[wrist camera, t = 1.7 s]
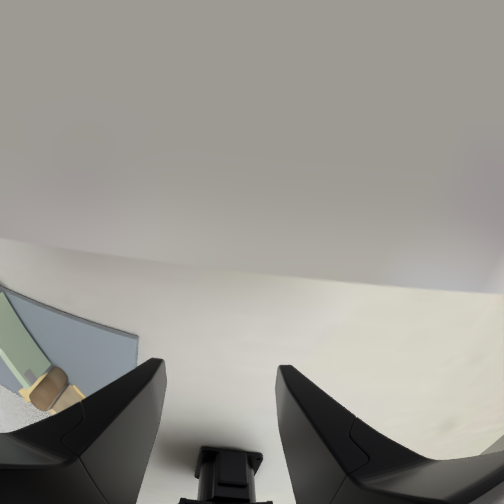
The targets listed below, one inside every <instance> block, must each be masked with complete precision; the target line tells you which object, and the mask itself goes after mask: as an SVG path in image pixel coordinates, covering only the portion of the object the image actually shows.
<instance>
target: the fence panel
mask: <svg viewBox="0 0 504 504" xmlns="http://www.w3.org/2000/svg"><path fill="white" fill-rule="evenodd" d="M0 356H1V358H2V359H3V360H4V362H5V363H6V365H7V366H8V367H9V369H10V370H11V371H12V373H13V374H14V375H15V377H16V378H17V379H18V381H19V382H20V383H21V384H22V386H23V387H24V388H25V389H26V390H27V389H29V388H30V387H31V386H32V385H33V384H34V383H35V382H36V381H37V380H38V378H39V377H40V376H41V375H42V374H43V373H44V372H45V371H46V370H47V368H48V367H49V366H50V365H51V363H50V362H49V361H48V360H47V358H46V357H45V356H44V354H43V353H42V352H41V350H40V349H39V348H38V346H37V345H36V343H35V342H34V341H33V339H32V338H31V336H30V335H29V333H28V332H27V331H26V329H25V328H24V326H23V325H22V323H21V321H20V320H19V318H18V317H17V315H16V314H15V312H14V310H13V309H12V307H11V305H10V304H9V302H8V300H7V299H6V297H5V295H4V293H3V292H1V293H0Z"/></svg>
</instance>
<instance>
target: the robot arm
mask: <svg viewBox="0 0 504 504" xmlns="http://www.w3.org/2000/svg"><path fill="white" fill-rule="evenodd" d="M166 386H167V377H166V368H165V361H164V360H163V359H159V358H151V359H149V360H147V361H146V362H144V363H142V364H141V365H139V366H138V367H136V368H134V369H133V370H131V371H129V372H128V373H126V374H124V375H123V376H121V377H119V378H118V379H116V380H114V381H113V382H111V383H109V384H108V385H106V386H104V387H103V388H101V389H99V390H98V391H96V392H94V393H93V394H91V395H89V396H87V397H86V398H84V399H82V400H81V402H80V401H79V402H77V403H75V404H73V405H72V406H70V407H68V408H66V409H64V410H62V411H60V412H59V413H56V414H54V415H52V416H50V417H48V418H45V419H43V420H41V421H38V422H36V423H33V424H31V425H29V426H26V427H24V428H21V429H18V430H16V431H13V432H8V433H0V504H136V501H137V498H138V494H139V491H140V487H141V484H142V480H143V477H144V474H145V470H146V467H147V464H148V460H149V457H150V454H151V450H152V447H153V444H154V441H155V437H156V434H157V431H158V428H159V424H160V420H161V414H162V408H163V403H164V397H165V391H166ZM275 392H276V404H277V416H278V427H279V433H280V437H281V442H282V446H283V450H284V454H285V459H286V463H287V467H288V471H289V475H290V480H291V484H292V488H293V492H294V496H295V500H296V504H504V450H503V451H500V452H495V453H491V454H485V455H479V456H473V457H467V458H459V459H451V460H434V459H429V458H426V457H424V456H422V455H419V454H418V453H416V452H414V451H412V450H410V449H408V448H406V447H404V446H402V445H400V444H399V443H397V442H395V441H393V440H391V439H389V438H388V437H386V436H384V435H383V434H381V433H379V432H378V431H376V430H375V429H373V428H372V427H370V426H369V425H367V424H366V423H365V422H363V421H362V420H361V419H359V418H358V417H356V416H355V415H354V414H352V413H351V412H350V411H349V410H347V409H346V408H345V407H343V406H342V405H341V404H339V403H338V402H337V401H336V400H334V399H333V398H332V397H330V396H329V395H328V394H327V393H325V392H324V391H323V390H322V389H320V388H319V387H318V386H317V385H315V384H314V383H313V382H312V381H310V380H309V379H308V378H307V377H305V376H304V375H303V374H302V373H301V372H299V371H298V370H297V369H296V368H294V367H293V366H292V365H279V366H278V370H277V378H276V386H275ZM262 460H263V455H262V454H257V453H247V452H238V451H230V450H223V449H216V448H210V447H201V448H200V453H199V457H198V461H197V466H196V470H195V478H197V479H199V488H198V498H197V500H191V499H186V498H180V502H179V503H178V504H273V502H272V501H267V502H256V496H255V482H254V476H255V474H256V472H257V470H258V468H259V466H260V464H261V462H262Z"/></svg>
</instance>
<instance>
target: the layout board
mask: <svg viewBox="0 0 504 504" xmlns="http://www.w3.org/2000/svg"><path fill="white" fill-rule="evenodd" d="M1 292H3V293H4V295H5V297H6V299H7V300H8V302H9V304H10V305H11V307H12V309H13V310H14V312H15V314H16V315H17V317H18V318H19V320H20V321H21V323H22V325H23V326H24V328H25V329H26V331H27V332H28V333H29V335H30V336H31V338H32V339H33V341H34V342H35V343H36V345H37V346H38V348H39V349H40V350H41V352H42V353H43V354H44V356H45V357H46V358H47V360H48V361H49V362H50V363H51V365H50V366H49V367H48V368H47V370H46V371H45V372H44V373H43V374H42V375H41V376H40V377H39V378H38V380H37V381H36V382H35V383H34V384H33V385H32V386H31V387H30V388H29V389H27V390H26V389H25V388H24V387H23V386H22V384H21V383H20V382H19V381H18V379H17V378H16V377H15V375H14V374H13V373H12V371H11V370H10V369H9V367H8V366H7V365H6V363H5V362H4V360H3V359H2V358H1V356H0V384H1V385H2V386H4V387H5V388H7V389H9V390H10V391H12V392H14V393H15V394H17V395H19V396H20V397H22V398H24V399H25V400H26V401H27V403H29V402H31V400H30V398H29V394H30V393H31V392H32V391H33V390H34V388H35V387H36V386H37V385H38V384H39V383H40V382H41V380H42V379H43V378H44V377H45V376H46V375H47V374H48V372H49V371H50V370H51V369H52V368H53V367H59V368H61V369H62V370H63V371H64V372H65V373H66V374H67V376H68V382H67V384H66V385H65V386H67V385H69V384H71V385H72V386H73V388H74V389H75V390H76V391H77V392H78V393H79V394H80V395H81V396H82V397H83V399H84V398H86V397H87V396H89V395H91V394H93V393H94V392H96V391H98V390H99V389H101V388H103V387H104V386H106V385H108V384H109V383H111V382H113V381H114V380H116V379H118V378H119V377H121V376H123V375H124V374H126V373H128V372H129V371H131V370H133V369H134V368H136V367H137V354H138V338H139V336H135V335H132V334H128V333H125V332H121V331H118V330H115V329H112V328H108V327H105V326H102V325H99V324H96V323H93V322H90V321H87V320H84V319H81V318H78V317H75V316H73V315H70V314H67V313H64V312H62V311H59V310H56V309H54V308H51V307H49V306H46V305H44V304H41V303H39V302H36V301H34V300H31V299H29V298H26V297H24V296H22V295H20V294H17V293H15V292H13V291H10V290H8V289H6V288H4V287H2V286H0V293H1ZM65 386H64V387H65ZM64 387H63V389H64ZM63 389H62V390H63ZM62 390H61V391H62ZM61 391H60V393H61ZM60 393H59V394H60ZM59 394H58V395H59ZM58 395H57V397H58ZM57 397H56V398H57ZM56 398H55V399H56ZM55 399H54V401H55ZM54 401H53V402H54ZM53 402H52V404H53ZM31 403H32V402H31ZM52 404H51V405H52ZM51 405H50V406H51ZM50 406H49V408H50ZM49 408H48V409H49ZM48 409H47V410H48Z"/></svg>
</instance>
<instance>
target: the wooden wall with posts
mask: <svg viewBox="0 0 504 504" xmlns="http://www.w3.org/2000/svg"><path fill="white" fill-rule="evenodd" d="M67 382H68V376H67V374H66V373H65V372H64V371H63V370H62V369H61V368H59V367H53V368H52V369H51V370H50V371H49V372H48V374H47V375H46V376H45V377H44V378H43V379H42V380H41V382H40V383H39V384H38V385H37V386H36V387H35V388H34V390H33V391H32V392H31V393H30V394H29V398H30V400H31V402H32V404H33V405H34V406H35V407H36V408H38V409H39V410H41V411H46V410H47V409H48V408H49V406H50V405H51V404H52V402H53V401H54V399H55V398H56V397H57V395H58V394H59V393H60V391H61V390H62V389H63V387H64V386H65V385H66V384H67ZM82 399H83V397H82V396H81V395H80V394H79V393H78V392H77V391H76V390H75V389H74V388H73V386H72V385H71V384H69V385H67V386H65V387H64V389H63V390H62V391H61V393H60V394H59V395H58V397H57V398H56V399H55V401H54V402H53V404H52V405H51V406H50V408H49V409H48V410H47V411H48V412H49V413H50V414H51V415H54V414H56V413H59V412H60V411H62V410H64V409H66V408H68V407H70V406H72V405H73V404H75V403H77V402H79V401H80V402H81V400H82Z"/></svg>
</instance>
